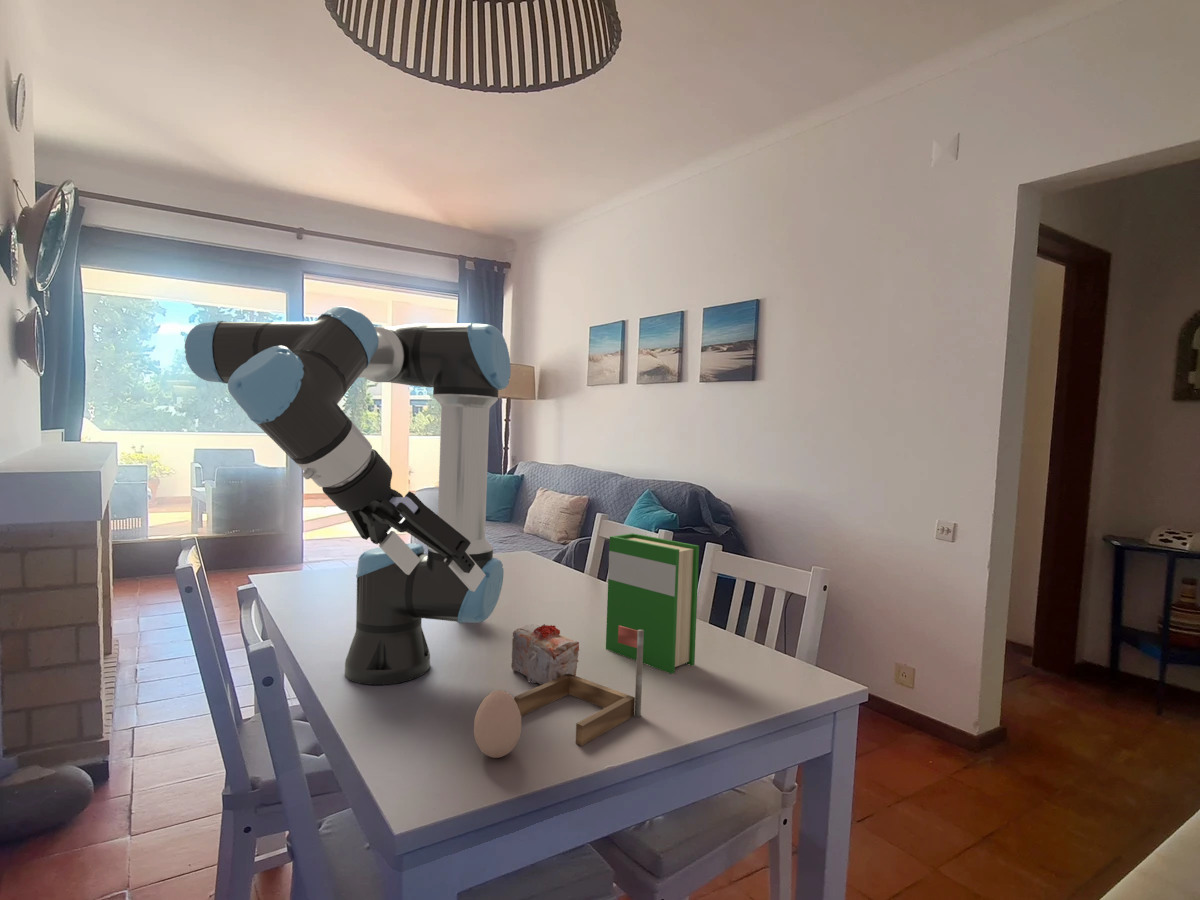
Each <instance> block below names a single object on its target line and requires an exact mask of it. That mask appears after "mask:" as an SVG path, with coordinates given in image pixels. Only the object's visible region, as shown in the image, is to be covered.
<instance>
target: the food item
mask: <svg viewBox="0 0 1200 900" xmlns="http://www.w3.org/2000/svg"><path fill="white" fill-rule="evenodd" d="M511 645H512V646H511V648H512V649H511V666H510V667H511V669H512V671H515V672H516V673H517V672H518V673H520V674H521V675H523V676H525V677H526V679H527V681H528V682H529V681H530V682H529V683H533V684H535V683H537V684H539V685H543V684H545V683H547V682H550V681H552V680H554V679H557V678H559V677H561V676H564V675H566V674H568V673H569V674H572V675H575V676H577V669H578V663H579V659H578V658H579V651H580V642H579V641H576V640H574V639H570V638H568V637H565V636H562V635H561V630H560V629H558V627H557V626H556V625H551V624H550V625H548V624H543V625H541V626H539V625H537V624H527V625H524V626H522V627H519V628H516V629H515V630H514V631H513V632H512V643H511Z"/></svg>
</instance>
